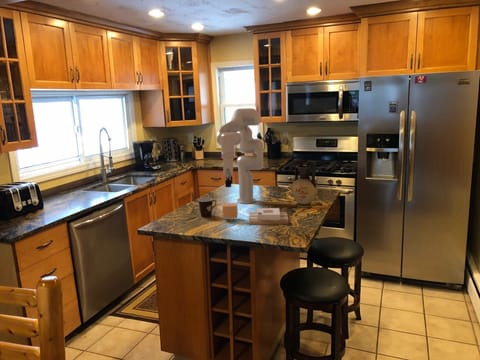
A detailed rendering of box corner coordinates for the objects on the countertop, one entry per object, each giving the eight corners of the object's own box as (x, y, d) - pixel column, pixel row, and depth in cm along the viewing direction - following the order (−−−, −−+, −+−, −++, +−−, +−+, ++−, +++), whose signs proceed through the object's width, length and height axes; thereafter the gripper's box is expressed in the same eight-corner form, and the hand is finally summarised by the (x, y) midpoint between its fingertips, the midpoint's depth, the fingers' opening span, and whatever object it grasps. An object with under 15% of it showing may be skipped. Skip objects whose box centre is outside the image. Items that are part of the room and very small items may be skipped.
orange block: (224, 218, 230) (223, 203, 228) (237, 217, 230) (237, 203, 228) (223, 221, 224) (222, 206, 222) (237, 221, 223) (236, 206, 221)
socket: (257, 213, 231) (257, 207, 230) (279, 213, 230) (279, 207, 230) (256, 219, 218) (256, 213, 217) (280, 219, 218) (280, 213, 217)
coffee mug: (200, 218, 231) (199, 202, 229) (198, 214, 239) (197, 198, 237) (219, 216, 234) (218, 200, 232) (216, 212, 242) (215, 197, 240)
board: (249, 215, 233) (249, 212, 233) (286, 215, 232) (286, 212, 231) (249, 224, 217) (248, 220, 217) (288, 223, 216) (288, 220, 216)
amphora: (322, 204, 255) (322, 158, 249) (311, 210, 241) (311, 162, 235) (297, 200, 264) (297, 157, 258) (286, 206, 251) (285, 160, 245)
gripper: (223, 153, 228) (224, 182, 231) (219, 157, 211) (221, 188, 214) (235, 153, 228) (236, 182, 231) (233, 157, 211) (234, 188, 214)
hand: (229, 185), depth 223 cm, fingers open, 9 cm apart
